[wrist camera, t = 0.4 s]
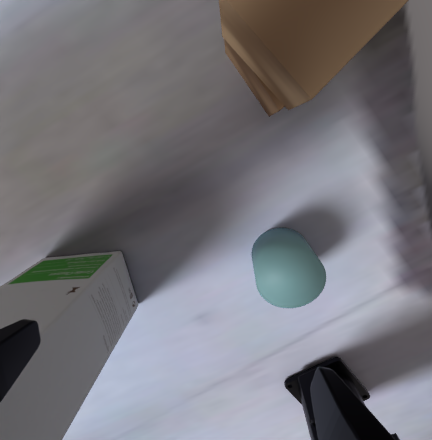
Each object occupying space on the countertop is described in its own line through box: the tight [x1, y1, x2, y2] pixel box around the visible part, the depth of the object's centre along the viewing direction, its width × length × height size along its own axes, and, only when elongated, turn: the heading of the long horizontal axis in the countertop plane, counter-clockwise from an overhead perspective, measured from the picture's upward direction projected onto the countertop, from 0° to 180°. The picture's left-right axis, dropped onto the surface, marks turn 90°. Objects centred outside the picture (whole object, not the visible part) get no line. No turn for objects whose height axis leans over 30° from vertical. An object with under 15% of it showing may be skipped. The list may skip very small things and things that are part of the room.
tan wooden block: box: [219, 0, 408, 110], centre depth 10 cm, size 5×5×4 cm
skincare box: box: [0, 251, 138, 440], centre depth 15 cm, size 8×7×16 cm
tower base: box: [224, 39, 285, 116], centre depth 13 cm, size 5×5×4 cm
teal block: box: [252, 228, 326, 308], centre depth 18 cm, size 5×5×4 cm
